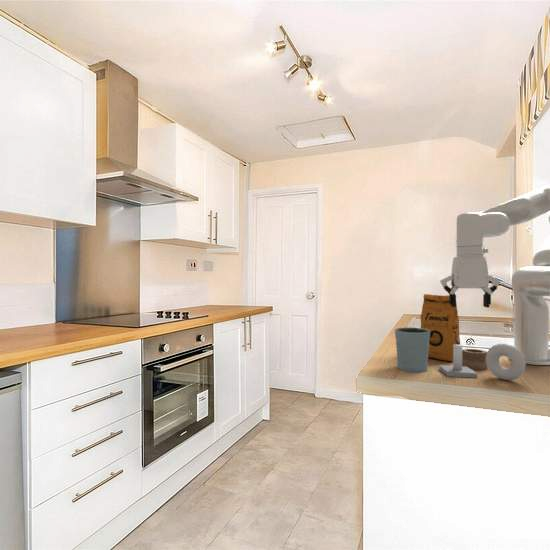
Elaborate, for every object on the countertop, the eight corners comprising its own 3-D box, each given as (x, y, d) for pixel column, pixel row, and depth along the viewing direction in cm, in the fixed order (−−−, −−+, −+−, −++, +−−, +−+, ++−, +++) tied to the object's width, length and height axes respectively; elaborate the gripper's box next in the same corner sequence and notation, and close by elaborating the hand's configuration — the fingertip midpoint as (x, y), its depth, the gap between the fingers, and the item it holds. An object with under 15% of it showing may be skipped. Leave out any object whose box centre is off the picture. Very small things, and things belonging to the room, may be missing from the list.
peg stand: (466, 370, 116) (467, 343, 116) (477, 377, 108) (477, 348, 108) (439, 369, 117) (439, 342, 117) (447, 376, 109) (447, 347, 109)
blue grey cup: (432, 367, 119) (432, 329, 119) (426, 375, 110) (427, 333, 110) (398, 363, 124) (399, 326, 124) (390, 370, 116) (391, 330, 116)
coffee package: (452, 363, 124) (453, 295, 124) (416, 357, 133) (416, 294, 133) (465, 359, 131) (465, 294, 131) (429, 353, 140) (430, 293, 140)
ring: (481, 364, 123) (481, 349, 123) (490, 369, 117) (490, 353, 117) (459, 364, 124) (459, 348, 124) (467, 369, 118) (467, 352, 117)
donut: (482, 377, 109) (483, 341, 109) (488, 375, 111) (489, 340, 111) (522, 385, 101) (522, 347, 101) (527, 383, 103) (528, 345, 103)
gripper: (495, 252, 123) (495, 306, 123) (437, 253, 126) (437, 305, 126) (504, 251, 116) (504, 308, 116) (443, 252, 119) (443, 307, 119)
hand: (469, 306), depth 121 cm, fingers open, 9 cm apart
